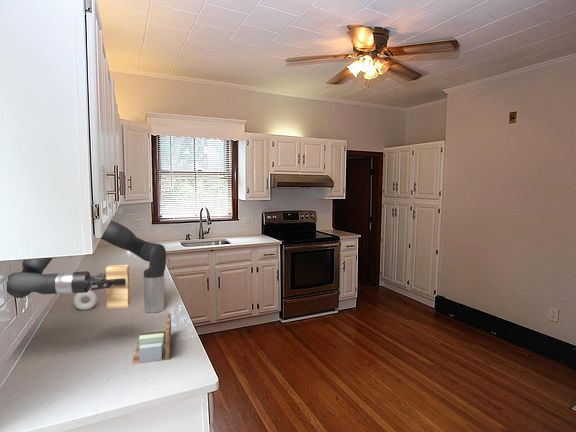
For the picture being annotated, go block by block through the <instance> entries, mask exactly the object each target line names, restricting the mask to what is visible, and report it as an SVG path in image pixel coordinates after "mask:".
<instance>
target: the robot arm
mask: <svg viewBox="0 0 576 432" xmlns="http://www.w3.org/2000/svg"><path fill="white" fill-rule="evenodd" d="M100 240H103V241H104V242H106V243H109V244H111V245H113V246H116V247H117V248H119V249H122V250H124V251H125V250H126V251H128V252H130V253H132V254H134V255H135V256H137V257H138V258H140V259H142V260H143V261H145V262H148V263H149V264H148V265H149V266H148V268H146V269H144V271H143V294H144V295H143V300H144V302H143V303H144V306H143V308H144V309H143V310H144V312H145V313H147V314H148V313H149V314H152V313H159V312H162V311H164V310H165V270H166V266H167V265H166V263H167V252H166V247H165V246H164V245H163V244H160V243H157V242H155V243H153V242H149V241H146V240H144V239H141V238H139V237H137V236H136V235H135V234H134V232H133V231H132V230H130V229H129V228H128V227H126V226H125V225H123V224H121V223H119V222H116V221H114V220H111V222H110V224H109V225H108V227H107V229H106V230H105V232H104V234H103V236H102V238H100ZM53 259H54V257H53V258H38V259H28V260H24V259H23V260H22V262H21V266H22V269H21V271H20V272H12V273H10V275H9V274H8V275H9V276H8V282H7V292H8V293H9V294H8V293H7V294H8V295H10V296H11V295H12V296H11V297H13V298H16V299H22V298H23V299H24V298H26V297H28V296H29V295H30V294H31V293H38V294H40V295H56V294H62V295H65V294H67V295H69V294H77V293H87V292H88V291H89V290H90V291H94V290H95V291H96V290H103V289H106V288H110V287H111V286H114V285H125V283H126V279H125V278H123V279H107V278H106V273H99V274H96V275H94V276H93V275H92V276H91V273H90V272H89V270H87V271H85V270H84V271H67V272H65V271H64V272H59V273H56V272H55V273H43V272H44V270H45V269H46V268H47V267H48V265H49V264H50V263H51V262H52V260H53Z"/></svg>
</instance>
